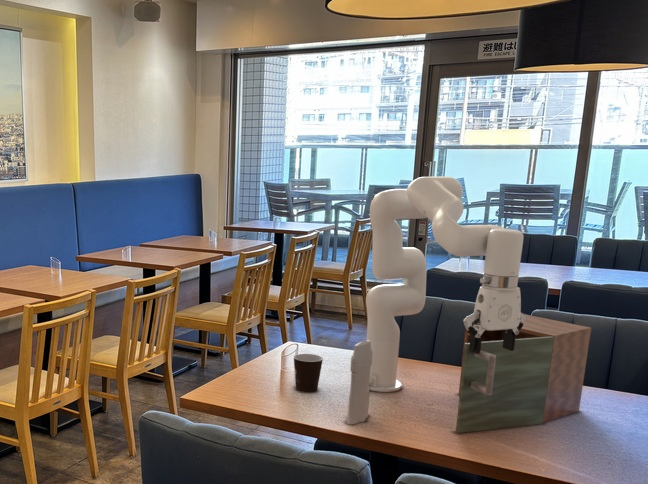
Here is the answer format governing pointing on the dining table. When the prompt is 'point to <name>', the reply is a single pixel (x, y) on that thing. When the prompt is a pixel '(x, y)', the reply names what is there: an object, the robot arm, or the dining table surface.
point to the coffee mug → (307, 372)
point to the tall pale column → (360, 382)
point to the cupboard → (554, 361)
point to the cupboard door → (504, 384)
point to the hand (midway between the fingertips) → (491, 350)
